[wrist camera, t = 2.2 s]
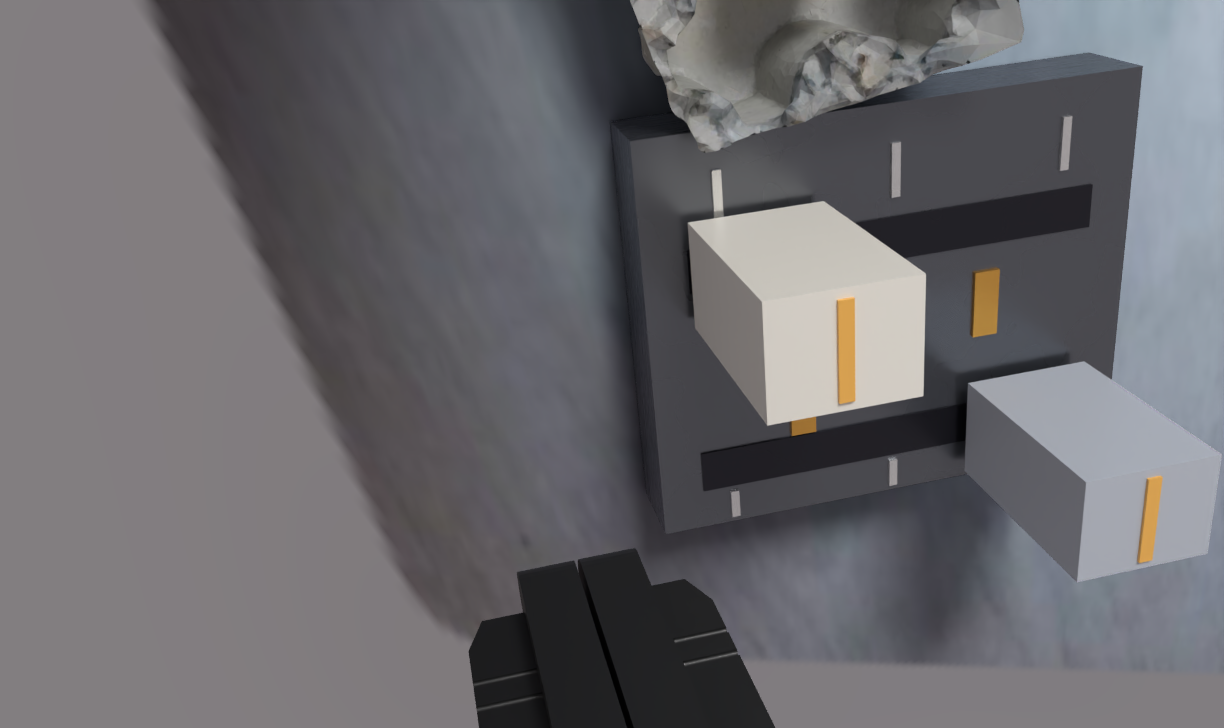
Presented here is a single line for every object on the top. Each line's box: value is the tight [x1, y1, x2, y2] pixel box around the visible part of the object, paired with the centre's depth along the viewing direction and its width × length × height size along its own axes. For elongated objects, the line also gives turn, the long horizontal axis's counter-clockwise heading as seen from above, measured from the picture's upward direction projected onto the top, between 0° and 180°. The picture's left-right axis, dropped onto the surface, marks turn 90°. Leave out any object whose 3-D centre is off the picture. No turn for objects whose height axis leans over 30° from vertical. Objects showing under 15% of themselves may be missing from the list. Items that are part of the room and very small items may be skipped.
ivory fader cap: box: [688, 201, 926, 426], centre depth 22 cm, size 2×3×5 cm
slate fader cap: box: [965, 361, 1222, 582], centre depth 25 cm, size 2×3×5 cm
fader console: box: [610, 53, 1143, 534], centre depth 27 cm, size 10×12×2 cm
